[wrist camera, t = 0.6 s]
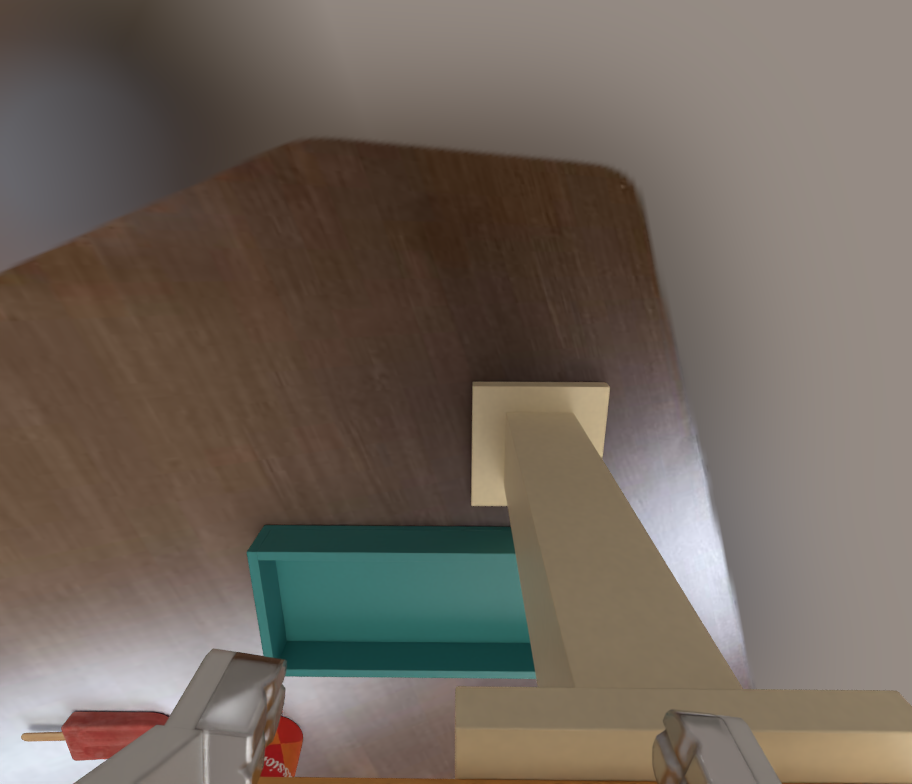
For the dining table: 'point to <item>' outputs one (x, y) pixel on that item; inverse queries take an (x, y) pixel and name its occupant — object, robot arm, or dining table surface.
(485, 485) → the stand
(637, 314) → the dining table surface
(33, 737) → the popsicle
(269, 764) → the paper cup
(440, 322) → the dining table surface
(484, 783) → the orange rectangular bar
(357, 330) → the dining table surface
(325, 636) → the tray
